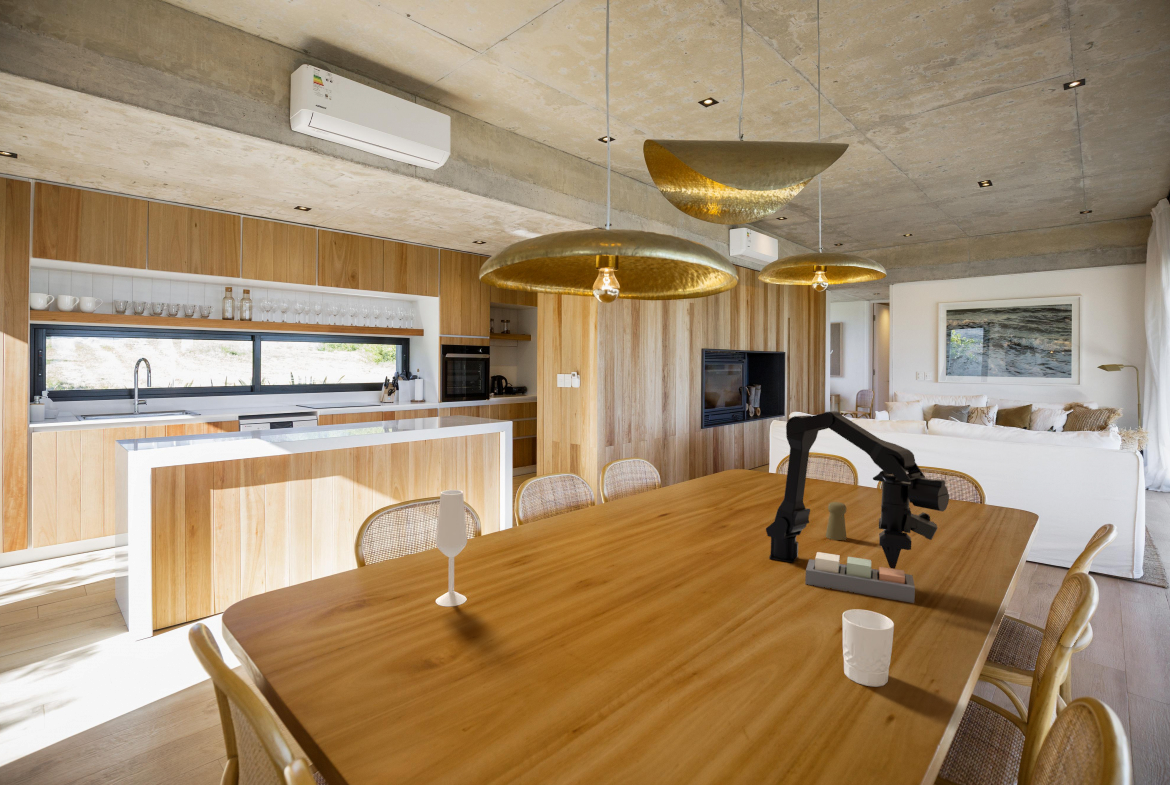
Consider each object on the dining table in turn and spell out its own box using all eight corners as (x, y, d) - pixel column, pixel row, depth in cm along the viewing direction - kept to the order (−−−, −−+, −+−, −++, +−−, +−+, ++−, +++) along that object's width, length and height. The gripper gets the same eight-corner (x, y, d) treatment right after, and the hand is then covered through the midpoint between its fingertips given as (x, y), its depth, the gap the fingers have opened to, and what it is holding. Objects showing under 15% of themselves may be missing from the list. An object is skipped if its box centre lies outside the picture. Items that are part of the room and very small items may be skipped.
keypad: (805, 584, 140) (805, 569, 139) (808, 572, 148) (809, 559, 148) (914, 603, 129) (914, 587, 129) (911, 589, 137) (912, 575, 137)
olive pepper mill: (848, 541, 175) (850, 505, 174) (827, 540, 176) (829, 504, 175) (844, 535, 181) (845, 501, 180) (823, 534, 182) (825, 499, 181)
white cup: (831, 664, 102) (833, 609, 101) (873, 663, 103) (876, 608, 102) (856, 690, 94) (858, 630, 94) (901, 688, 95) (904, 629, 94)
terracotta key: (878, 590, 134) (879, 573, 134) (878, 583, 139) (879, 566, 139) (904, 594, 132) (905, 577, 132) (903, 587, 137) (904, 570, 136)
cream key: (814, 574, 140) (815, 558, 140) (816, 567, 145) (817, 551, 145) (837, 578, 138) (838, 561, 138) (839, 571, 143) (839, 555, 143)
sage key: (846, 579, 137) (846, 562, 137) (847, 572, 142) (847, 556, 142) (870, 583, 135) (871, 566, 135) (870, 576, 140) (871, 560, 139)
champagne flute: (439, 608, 122) (440, 496, 121) (432, 597, 128) (432, 490, 127) (470, 603, 125) (471, 494, 124) (462, 592, 131) (462, 487, 130)
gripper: (939, 515, 122) (936, 588, 123) (931, 498, 139) (928, 561, 140) (881, 509, 127) (878, 578, 128) (880, 493, 144) (877, 554, 145)
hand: (892, 568), depth 135 cm, fingers closed
